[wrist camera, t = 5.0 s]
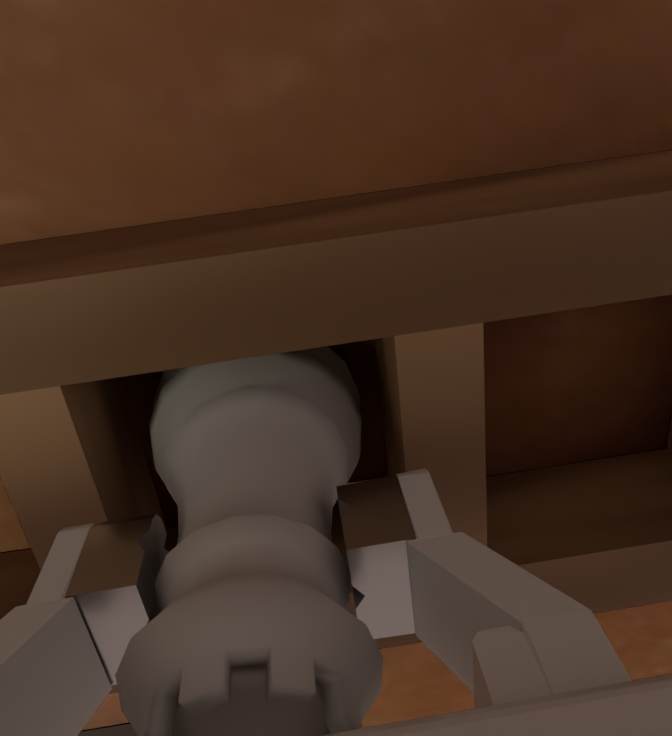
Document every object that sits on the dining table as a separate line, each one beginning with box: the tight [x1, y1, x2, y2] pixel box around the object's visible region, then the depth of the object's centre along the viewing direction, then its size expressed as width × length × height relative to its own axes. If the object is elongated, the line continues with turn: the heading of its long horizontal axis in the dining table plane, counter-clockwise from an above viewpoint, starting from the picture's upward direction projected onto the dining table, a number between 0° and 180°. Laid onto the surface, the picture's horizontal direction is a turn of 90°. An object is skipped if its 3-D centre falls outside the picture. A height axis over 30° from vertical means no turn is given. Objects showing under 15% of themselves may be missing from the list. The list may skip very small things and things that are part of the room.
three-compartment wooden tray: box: [0, 150, 672, 694], centre depth 13 cm, size 9×22×3 cm, turn 97°
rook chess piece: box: [115, 346, 383, 736], centre depth 11 cm, size 4×4×8 cm
